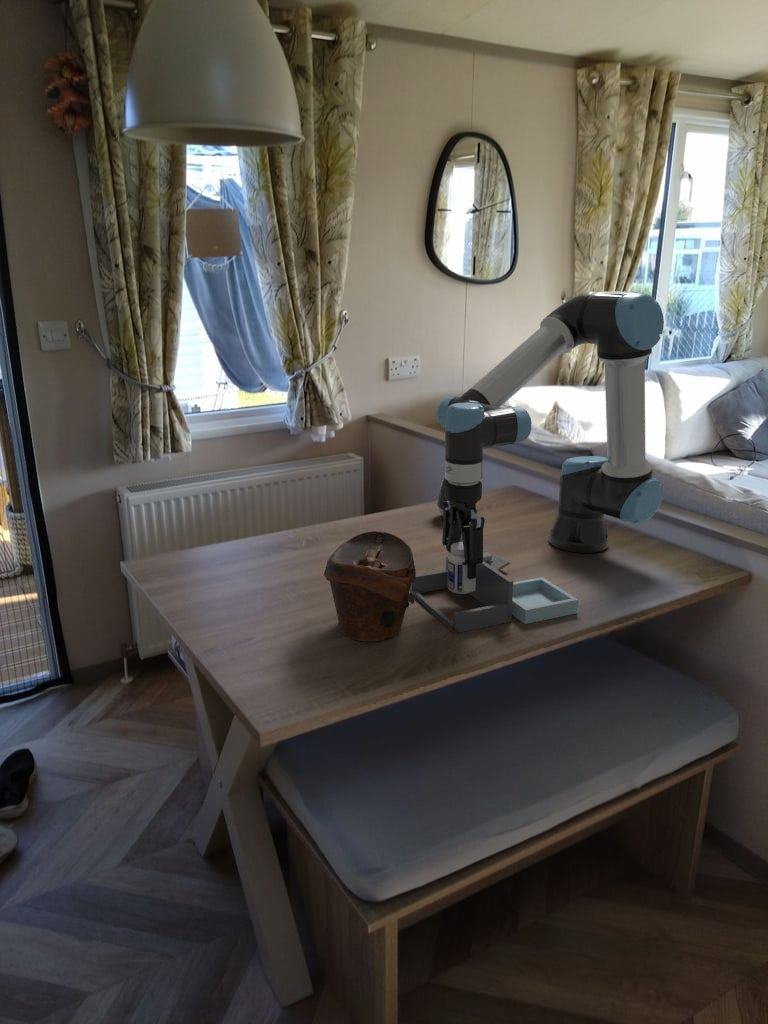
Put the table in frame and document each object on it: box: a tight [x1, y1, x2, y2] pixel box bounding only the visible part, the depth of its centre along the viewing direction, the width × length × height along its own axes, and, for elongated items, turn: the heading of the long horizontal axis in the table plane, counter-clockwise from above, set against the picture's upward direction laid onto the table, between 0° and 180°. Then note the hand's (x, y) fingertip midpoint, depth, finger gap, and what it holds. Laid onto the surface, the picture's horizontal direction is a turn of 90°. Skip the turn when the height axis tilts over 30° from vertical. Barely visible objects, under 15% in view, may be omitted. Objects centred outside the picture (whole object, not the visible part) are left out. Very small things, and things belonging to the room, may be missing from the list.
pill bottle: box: [447, 542, 470, 595], centre depth 157 cm, size 6×6×10 cm
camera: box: [445, 534, 511, 572], centre depth 176 cm, size 9×12×15 cm
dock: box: [409, 561, 515, 634], centre depth 158 cm, size 21×13×9 cm, turn 23°
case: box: [323, 530, 417, 643], centre depth 147 cm, size 18×20×18 cm
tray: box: [511, 576, 579, 625], centre depth 160 cm, size 13×13×3 cm
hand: (461, 585), depth 159 cm, fingers closed on pill bottle, 6 cm apart
